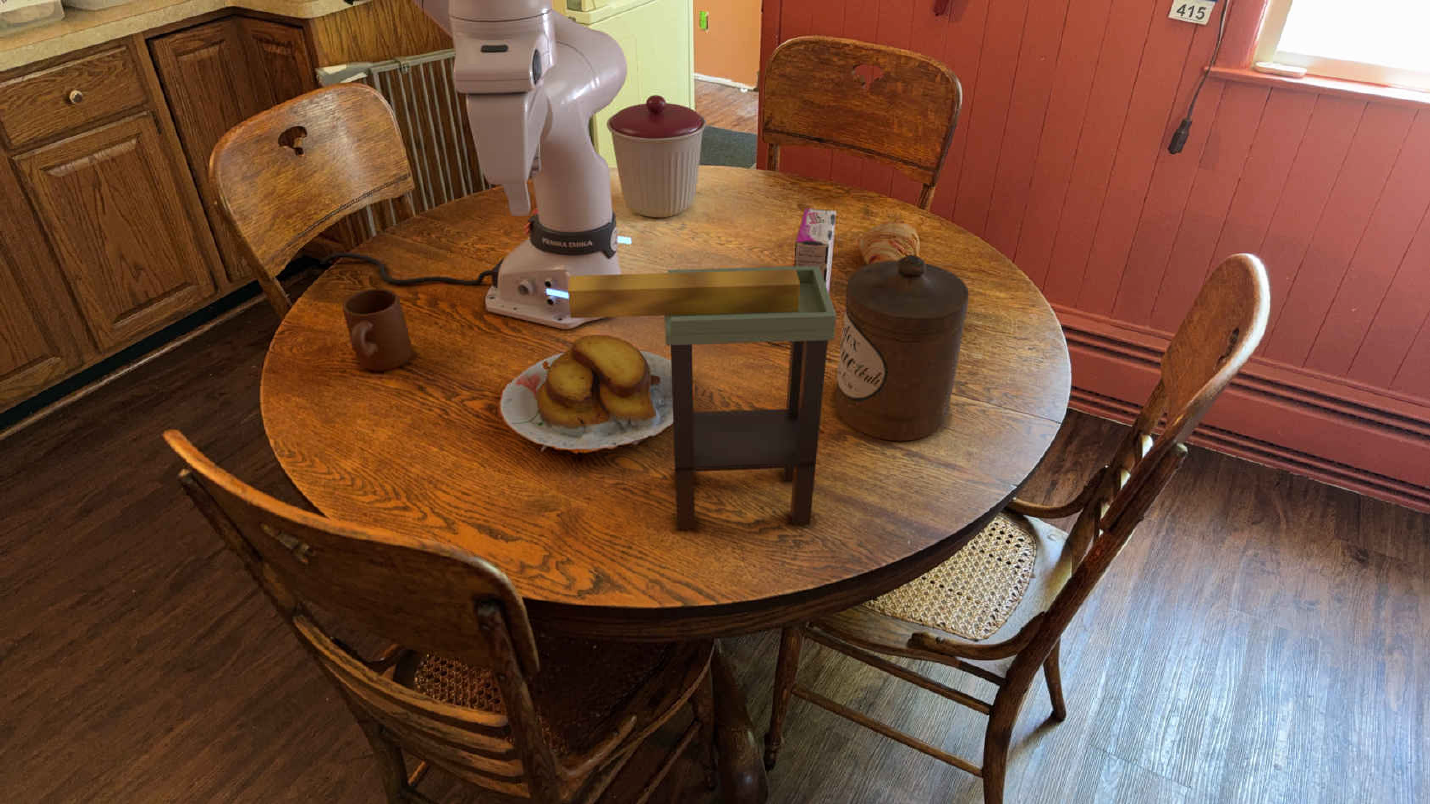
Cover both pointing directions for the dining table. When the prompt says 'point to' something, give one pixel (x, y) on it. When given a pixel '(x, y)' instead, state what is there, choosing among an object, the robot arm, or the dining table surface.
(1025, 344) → the dining table surface
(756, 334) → the stand
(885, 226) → the croissant
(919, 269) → the wooden container
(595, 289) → the batten
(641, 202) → the canister
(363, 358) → the mug
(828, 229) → the candy bar box
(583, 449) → the food on plate
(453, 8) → the robot arm
